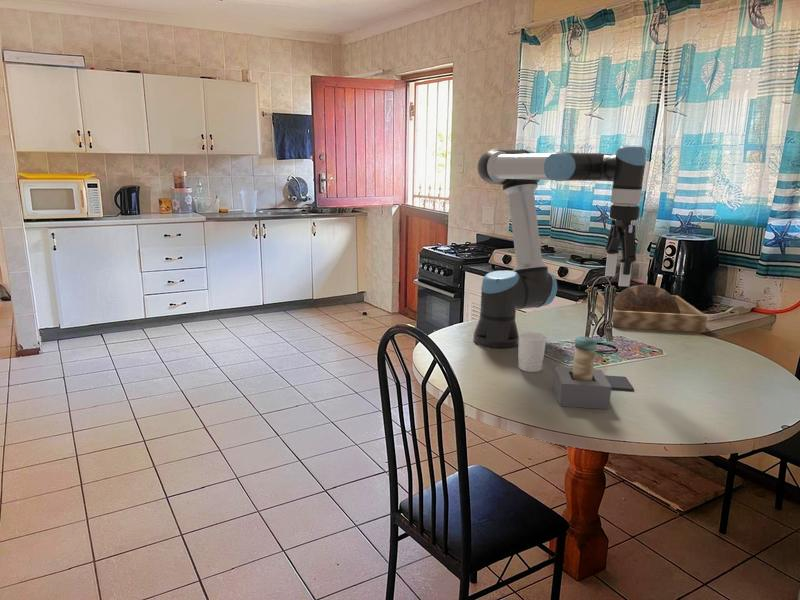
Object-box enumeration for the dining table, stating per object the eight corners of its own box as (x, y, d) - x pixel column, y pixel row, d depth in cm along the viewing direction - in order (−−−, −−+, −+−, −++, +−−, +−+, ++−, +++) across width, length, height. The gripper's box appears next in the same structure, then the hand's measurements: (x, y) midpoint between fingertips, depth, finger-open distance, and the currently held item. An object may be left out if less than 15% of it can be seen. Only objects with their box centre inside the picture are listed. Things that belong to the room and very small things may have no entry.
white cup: (544, 365, 176) (547, 333, 174) (542, 374, 169) (545, 341, 167) (518, 362, 179) (520, 330, 176) (514, 370, 172) (517, 338, 169)
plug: (571, 401, 151) (577, 342, 147) (568, 393, 156) (574, 335, 152) (592, 402, 151) (598, 343, 147) (588, 394, 156) (594, 337, 152)
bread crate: (611, 326, 218) (613, 311, 217) (594, 305, 249) (595, 291, 248) (704, 332, 215) (707, 316, 213) (675, 309, 246) (677, 295, 244)
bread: (604, 321, 226) (608, 288, 223) (612, 306, 250) (616, 275, 246) (678, 331, 215) (683, 296, 212) (680, 314, 239) (684, 282, 236)
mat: (599, 388, 160) (599, 386, 160) (593, 376, 169) (593, 374, 169) (633, 390, 159) (634, 388, 159) (625, 378, 168) (625, 376, 168)
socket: (559, 405, 148) (561, 383, 147) (553, 387, 160) (555, 366, 158) (608, 409, 147) (611, 386, 146) (598, 390, 159) (601, 369, 157)
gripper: (655, 209, 148) (644, 291, 154) (625, 201, 173) (617, 272, 178) (625, 208, 149) (615, 290, 154) (599, 200, 173) (592, 271, 178)
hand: (616, 280), depth 166 cm, fingers open, 13 cm apart
